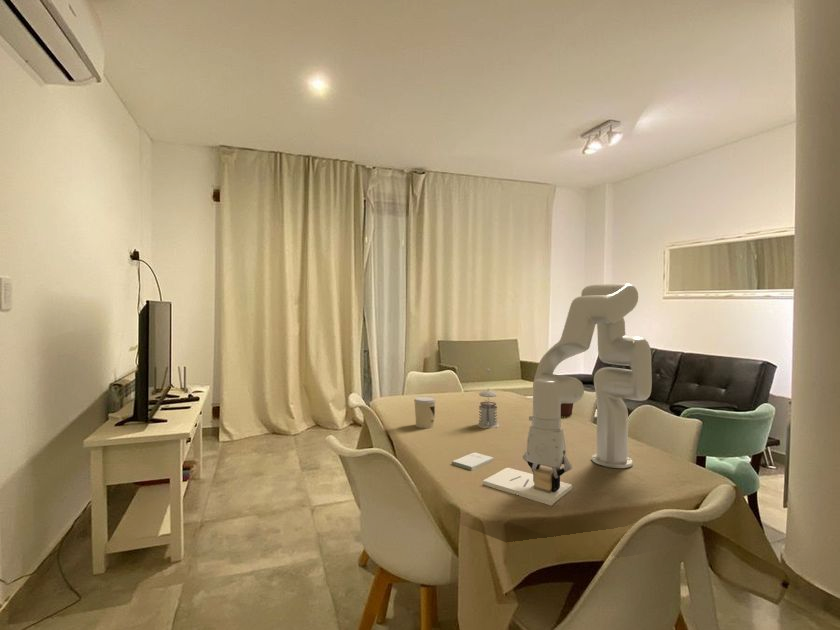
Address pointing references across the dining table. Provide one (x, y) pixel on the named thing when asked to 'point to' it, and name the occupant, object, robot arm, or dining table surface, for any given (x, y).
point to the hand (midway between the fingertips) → (546, 487)
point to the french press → (488, 411)
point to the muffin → (566, 409)
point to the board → (524, 486)
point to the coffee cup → (424, 411)
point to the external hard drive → (472, 461)
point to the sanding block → (543, 479)
